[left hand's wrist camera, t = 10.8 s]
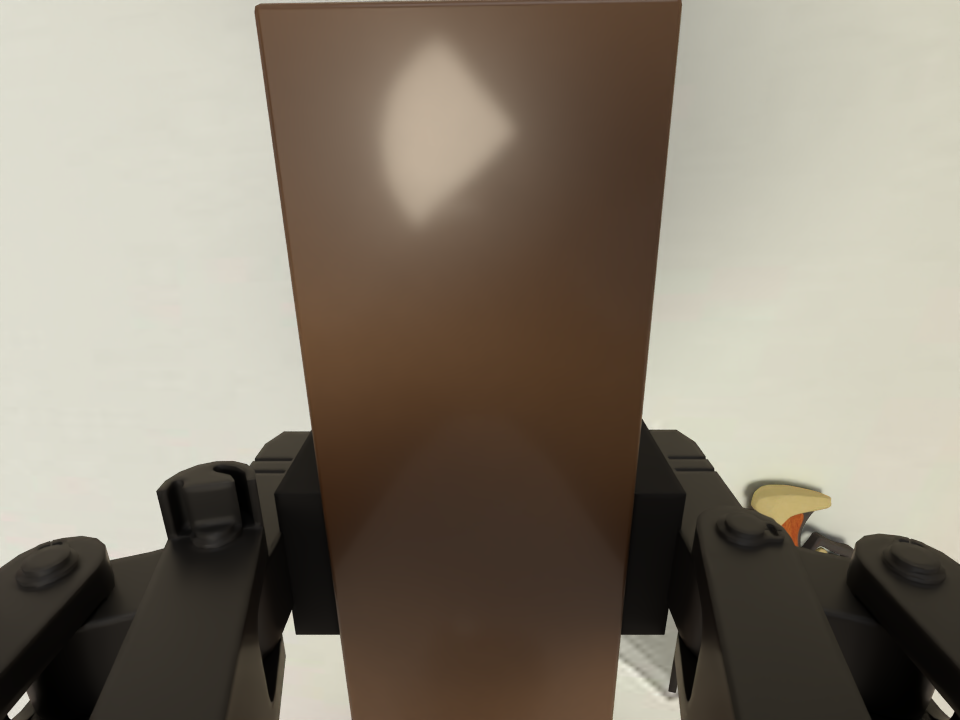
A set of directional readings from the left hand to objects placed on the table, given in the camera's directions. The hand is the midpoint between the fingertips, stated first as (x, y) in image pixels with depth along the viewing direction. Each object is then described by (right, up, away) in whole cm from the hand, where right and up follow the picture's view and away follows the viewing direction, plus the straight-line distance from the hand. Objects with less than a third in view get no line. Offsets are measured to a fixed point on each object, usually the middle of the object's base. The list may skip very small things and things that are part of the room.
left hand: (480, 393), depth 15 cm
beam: (0, -17, +7) cm, 18 cm away
